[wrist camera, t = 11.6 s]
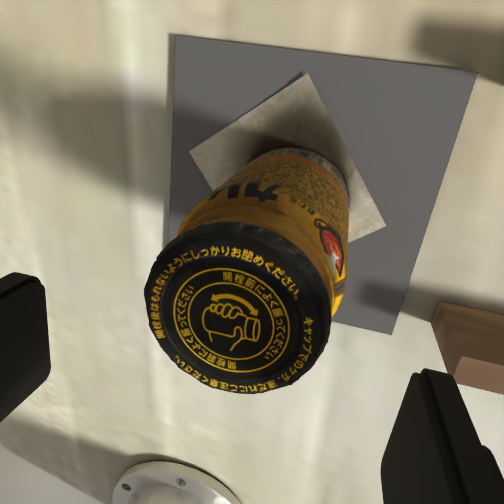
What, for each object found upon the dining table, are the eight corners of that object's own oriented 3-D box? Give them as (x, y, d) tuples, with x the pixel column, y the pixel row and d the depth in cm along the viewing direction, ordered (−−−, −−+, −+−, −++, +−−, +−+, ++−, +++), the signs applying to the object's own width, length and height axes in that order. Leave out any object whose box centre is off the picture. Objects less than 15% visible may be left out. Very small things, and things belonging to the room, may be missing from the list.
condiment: (268, 277, 23) (196, 443, 12) (189, 150, 21) (26, 217, 11) (386, 224, 20) (426, 378, 10) (308, 73, 19) (250, 54, 8)
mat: (390, 329, 23) (391, 335, 23) (170, 279, 25) (167, 283, 25) (474, 72, 18) (477, 72, 17) (180, 36, 20) (175, 35, 19)
